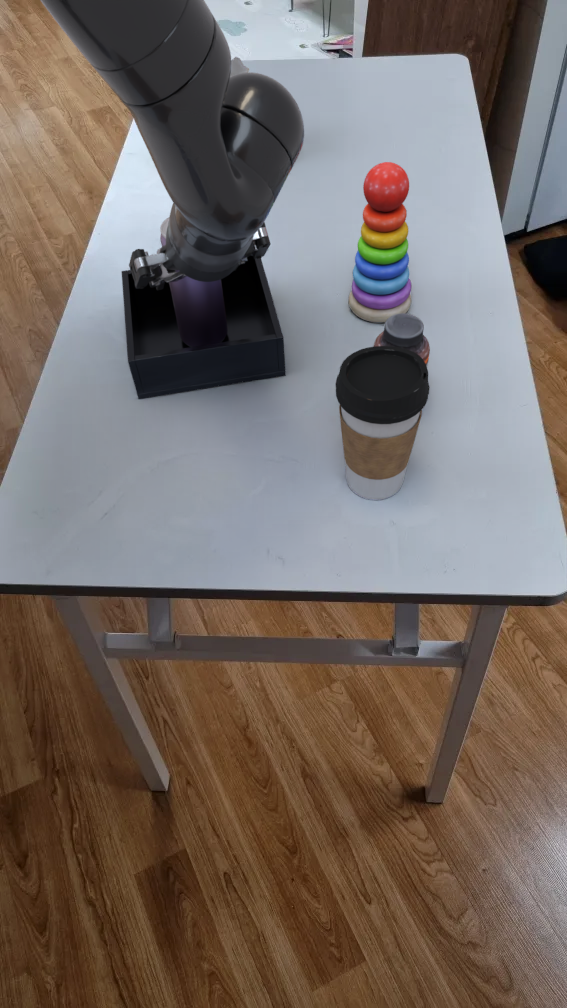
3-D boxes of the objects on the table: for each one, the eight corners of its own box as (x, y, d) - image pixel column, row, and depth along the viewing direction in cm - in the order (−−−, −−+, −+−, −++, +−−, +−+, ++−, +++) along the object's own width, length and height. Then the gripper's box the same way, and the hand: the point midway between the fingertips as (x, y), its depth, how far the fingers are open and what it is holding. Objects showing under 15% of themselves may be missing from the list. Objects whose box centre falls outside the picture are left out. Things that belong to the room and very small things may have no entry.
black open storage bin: (138, 399, 84) (127, 361, 80) (131, 309, 95) (121, 270, 91) (285, 376, 86) (283, 337, 81) (262, 289, 96) (259, 250, 92)
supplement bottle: (370, 425, 80) (376, 344, 71) (366, 388, 84) (371, 307, 75) (424, 423, 80) (437, 342, 71) (418, 386, 84) (429, 305, 75)
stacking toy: (344, 290, 95) (347, 149, 81) (404, 285, 96) (418, 142, 81) (353, 328, 91) (358, 184, 76) (416, 322, 91) (433, 177, 76)
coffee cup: (406, 517, 72) (422, 410, 60) (325, 500, 74) (324, 393, 62) (422, 456, 77) (439, 346, 65) (345, 442, 79) (348, 332, 67)
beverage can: (226, 351, 88) (211, 239, 76) (178, 352, 88) (155, 241, 76) (229, 320, 91) (215, 209, 80) (183, 321, 92) (161, 211, 80)
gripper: (272, 170, 66) (243, 223, 82) (120, 205, 64) (121, 253, 79) (294, 252, 67) (262, 289, 83) (146, 289, 65) (142, 320, 80)
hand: (193, 271), depth 81 cm, fingers open, 8 cm apart
